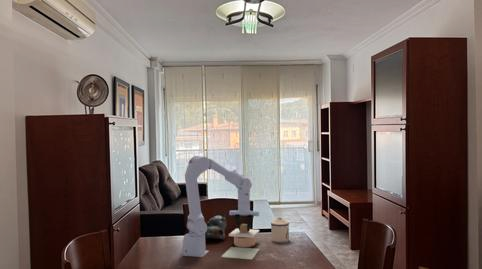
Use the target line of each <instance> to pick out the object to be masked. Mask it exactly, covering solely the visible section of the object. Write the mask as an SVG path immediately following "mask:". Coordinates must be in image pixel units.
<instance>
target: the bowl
mask: <svg viewBox="0 0 482 269" xmlns="http://www.w3.org/2000/svg"><path fill="white" fill-rule="evenodd" d="M256 244H257V243H256V236H255V237H254V238H248V237H233V245H234V247H240V248H252V247H253V246H255V245H256Z"/></svg>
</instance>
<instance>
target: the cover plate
mask: <svg viewBox="0 0 482 269" xmlns="http://www.w3.org/2000/svg"><path fill="white" fill-rule="evenodd" d="M259 233H260V229H253V228H252V229H251V228H250V230H249V231H247V223H242V224H241V225H240V231H239V228H235V229H234V230H232V231H231V232H230V233H228V237H233V238H234V237H248V238H254V237H255V238H256V235H258V234H259Z"/></svg>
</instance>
